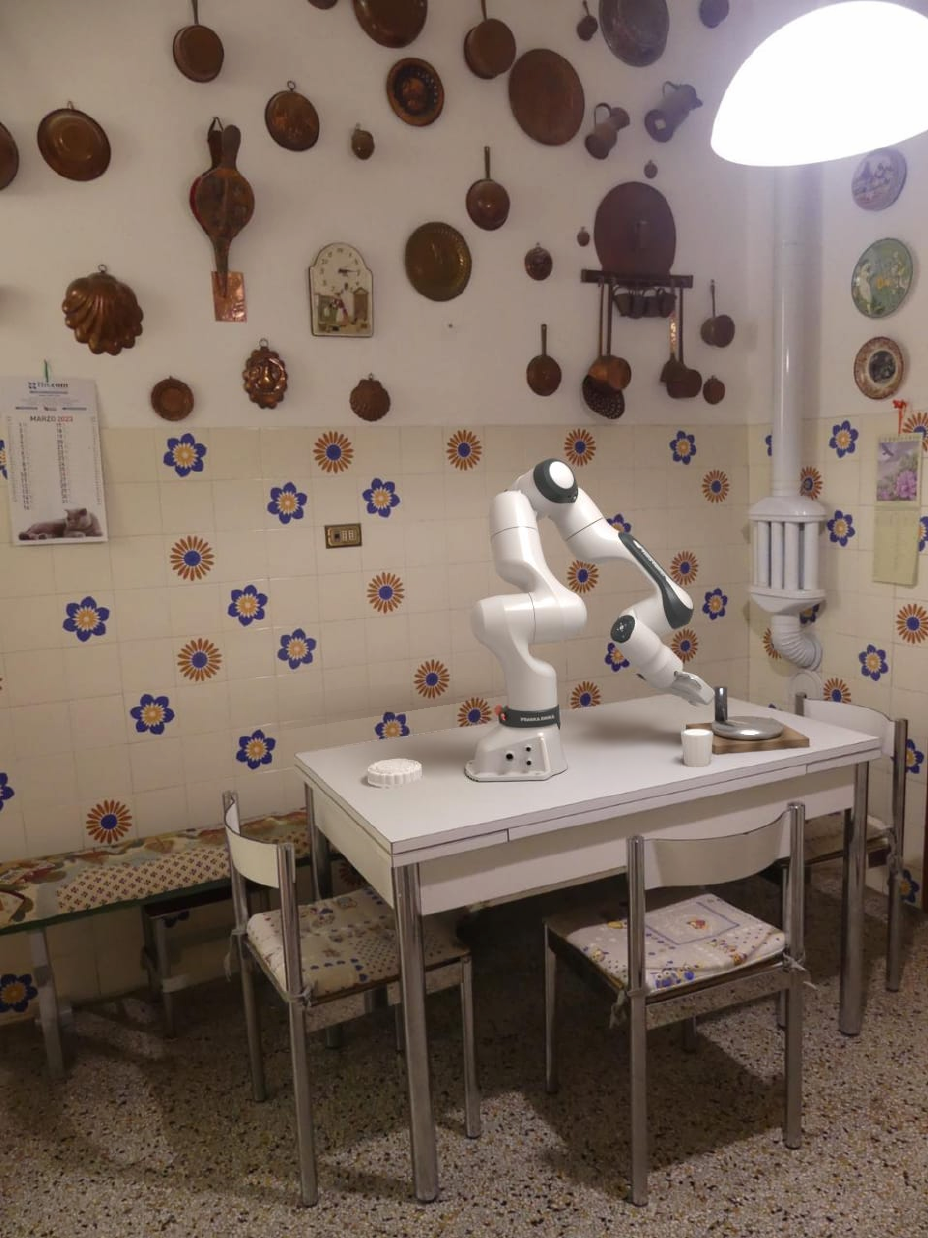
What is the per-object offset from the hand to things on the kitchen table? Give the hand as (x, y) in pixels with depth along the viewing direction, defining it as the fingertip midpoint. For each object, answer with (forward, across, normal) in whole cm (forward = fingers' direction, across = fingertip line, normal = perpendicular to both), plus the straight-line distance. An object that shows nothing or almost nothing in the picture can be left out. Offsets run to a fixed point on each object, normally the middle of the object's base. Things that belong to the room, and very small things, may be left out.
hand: (697, 703), depth 226 cm
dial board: (+12, -8, 0) cm, 14 cm away
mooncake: (-46, +11, +58) cm, 75 cm away
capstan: (+9, -8, -1) cm, 13 cm away
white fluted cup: (-3, -16, +15) cm, 22 cm away
